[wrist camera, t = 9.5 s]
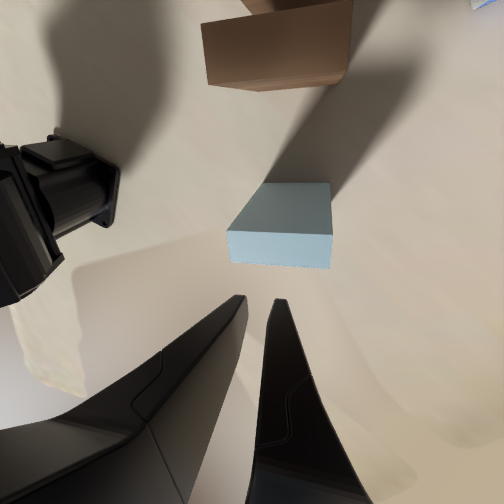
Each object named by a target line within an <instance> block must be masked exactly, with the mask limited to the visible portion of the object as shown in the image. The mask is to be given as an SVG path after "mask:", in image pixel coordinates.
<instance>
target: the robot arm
mask: <svg viewBox="0 0 504 504" xmlns="http://www.w3.org/2000/svg"><path fill="white" fill-rule="evenodd" d="M111 169H112V170H113V172H112V171H111ZM118 177H119V169H118V168H117V166H115V165H114V164H112V163H110V162H108V161H106V160H104V159H102V158H100V157H98V156H96V155H95V154H94V153H93V152H92V151H90V150H88V149H86V148H84V147H82V146H80V145H78V144H76V143H74V142H72V141H71V140H69V139H63V138H62V137H60V136H58V135H55V134H52V135H48V136H47V142H42V143H35V144H28V145H23V146H21V147H20V150H19V148H18V146H17V145H4V144H3V143H1V142H0V308H1V307H4V306H8V305H11V304H14V303H17V302H19V301H20V300H21V299H23V298H25V297H26V296H28V295H30V294H31V293H32V292H33V291H35V290H36V289H37V288H38V287H39V286H40V285H41V284H42V283H43V282H44V281H45V279H46V278H47V277H48V276H49V275H50V274H51V273H52V272H53V271H54V270H55V269H56V268H57V267H58V266H59V265H60V264H61V263H62V262H63V261H64V260H65V258H64V256H63V253H61V252H60V250H59V247H58V245H57V242H56V240H57V239H59V238H60V237H62V236H64V235H66V234H68V233H70V232H72V231H74V230H76V229H78V228H80V227H82V226H84V225H86V224H88V223H89V222H91V221H92V222H94V223H96V224H98V225H100V226H102V227H104V228H108V227H110V226H111V225H112V220H113V213H114V206H115V199H116V192H117V185H118ZM106 223H107V224H106ZM247 321H248V304H247V297H246V296H245V295H234V296H233V297H231V298H230V299H228V300H227V301H226V302H225V303H223V304H222V305H220V306H219V307H218V308H216V309H215V310H214V311H212V312H211V313H210V314H208V315H207V316H206V317H204V318H203V319H202V320H200V321H199V322H198V323H196V324H195V325H194V326H193V327H191V328H190V329H188V330H187V331H186V332H184V333H183V334H182V335H180V336H179V337H178V338H177V339H175V340H174V341H173V342H171V343H170V344H169V345H167V346H166V347H165V348H163V349H162V351H159V352H158V353H156V354H155V355H154V356H153V357H151V358H150V359H148V360H147V361H146V362H144V363H143V364H141V365H140V366H139V367H137V368H136V369H134V370H133V371H131V372H130V373H128V374H127V375H125V376H124V377H122V378H121V379H119V380H118V381H116V382H114V383H113V384H111V385H110V386H108V387H106V388H105V389H103V390H102V391H100V392H99V393H97V394H95V395H94V396H92V397H91V398H89V399H88V400H86V401H85V402H83V403H82V404H80V405H78V406H77V407H75V408H73V409H71V410H70V411H68V412H66V413H64V414H62V415H59V416H57V417H54V418H51V419H48V420H44V421H40V422H35V423H31V424H26V425H22V426H17V427H12V428H8V429H2V430H0V504H187V503H188V500H189V498H190V495H191V492H192V489H193V487H194V483H195V481H196V478H197V475H198V472H199V470H200V467H201V464H202V461H203V458H204V456H205V453H206V450H207V447H208V444H209V442H210V439H211V436H212V433H213V430H214V427H215V425H216V422H217V419H218V416H219V413H220V411H221V408H222V405H223V402H224V399H225V396H226V394H227V391H228V388H229V385H230V382H231V380H232V377H233V374H234V371H235V368H236V366H237V363H238V360H239V356H240V352H241V348H242V343H243V339H244V335H245V330H246V326H247ZM245 504H374V503H373V502H372V500H371V499H370V497H369V496H368V494H367V492H366V491H365V489H364V487H363V485H362V484H361V482H360V480H359V478H358V476H357V474H356V472H355V470H354V468H353V466H352V464H351V462H350V460H349V458H348V456H347V454H346V452H345V450H344V448H343V446H342V444H341V442H340V440H339V438H338V436H337V433H336V431H335V429H334V427H333V425H332V423H331V421H330V419H329V417H328V415H327V412H326V410H325V408H324V406H323V403H322V401H321V398H320V396H319V393H318V390H317V388H316V385H315V382H314V379H313V376H312V375H311V370H310V367H309V364H308V362H307V359H306V356H305V353H304V350H303V347H302V344H301V341H300V338H299V335H298V332H297V329H296V326H295V323H294V320H293V317H292V314H291V311H290V308H289V305H288V302H287V300H286V299H278V298H277V299H275V300H274V303H273V306H272V309H271V312H270V315H269V318H268V321H267V327H266V337H265V347H264V357H263V367H262V377H261V387H260V397H259V407H258V418H257V427H256V437H255V450H254V457H253V465H252V472H251V478H250V483H249V487H248V492H247V496H246V500H245Z"/></svg>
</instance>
